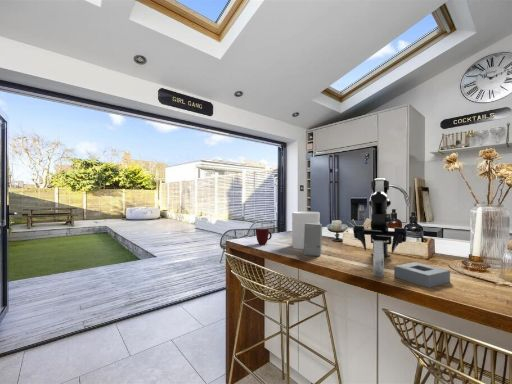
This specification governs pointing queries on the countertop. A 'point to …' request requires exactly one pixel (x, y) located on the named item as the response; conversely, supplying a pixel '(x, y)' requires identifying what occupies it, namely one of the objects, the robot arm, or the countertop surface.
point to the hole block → (422, 274)
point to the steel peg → (378, 258)
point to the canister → (302, 226)
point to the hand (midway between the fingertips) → (378, 251)
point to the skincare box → (313, 239)
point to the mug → (263, 235)
